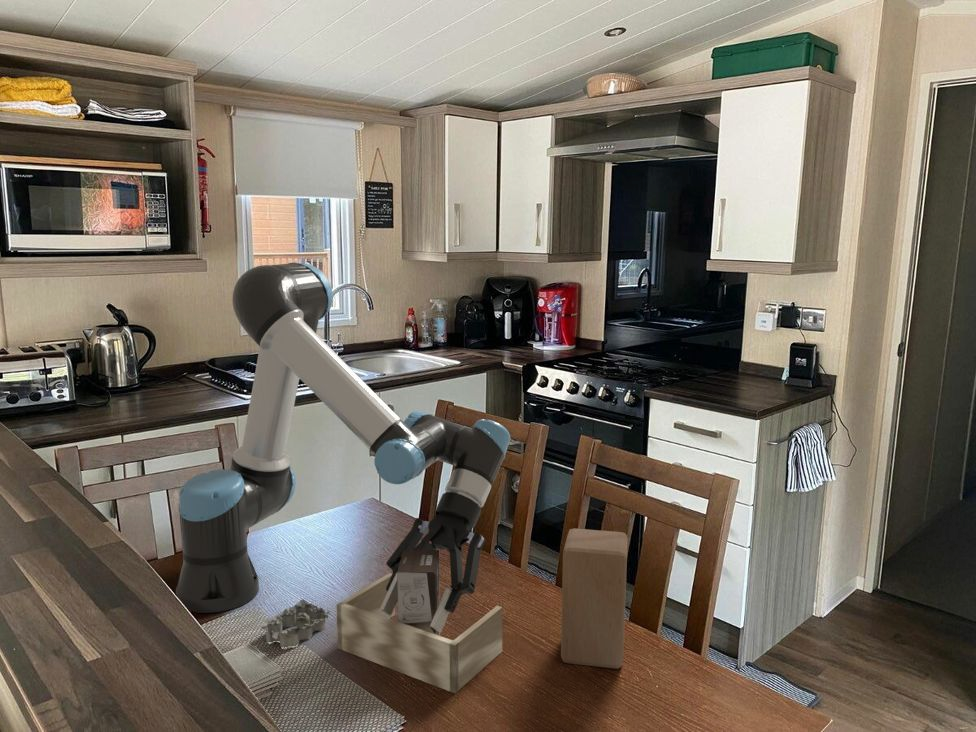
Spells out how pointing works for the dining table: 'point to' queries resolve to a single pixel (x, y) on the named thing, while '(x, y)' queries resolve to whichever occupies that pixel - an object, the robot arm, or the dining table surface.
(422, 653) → the wooden u-shaped frame
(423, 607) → the coffee box
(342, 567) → the dining table surface
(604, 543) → the block
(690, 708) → the dining table surface
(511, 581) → the dining table surface
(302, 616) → the egg carton
